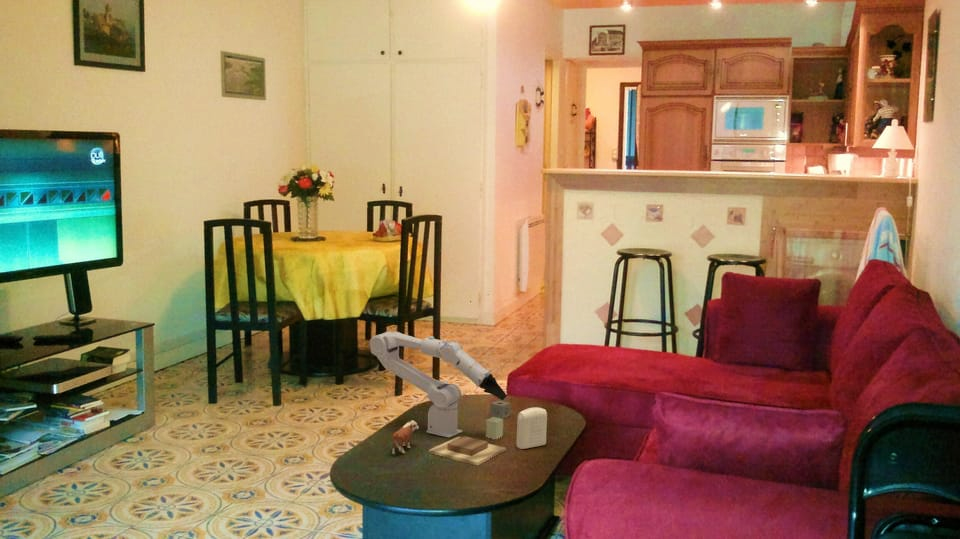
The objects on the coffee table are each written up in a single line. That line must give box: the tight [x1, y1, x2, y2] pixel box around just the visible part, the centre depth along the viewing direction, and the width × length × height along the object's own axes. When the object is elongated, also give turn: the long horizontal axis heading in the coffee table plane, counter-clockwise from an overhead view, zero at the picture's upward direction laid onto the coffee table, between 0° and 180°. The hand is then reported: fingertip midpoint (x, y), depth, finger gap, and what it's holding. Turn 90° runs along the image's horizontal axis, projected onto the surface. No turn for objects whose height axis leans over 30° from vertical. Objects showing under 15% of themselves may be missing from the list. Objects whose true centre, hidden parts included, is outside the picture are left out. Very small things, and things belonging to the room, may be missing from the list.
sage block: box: [485, 417, 504, 440], centre depth 283 cm, size 4×4×6 cm
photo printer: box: [515, 407, 548, 450], centre depth 275 cm, size 10×4×12 cm, turn 123°
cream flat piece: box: [428, 435, 507, 466], centre depth 269 cm, size 18×16×3 cm
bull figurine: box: [391, 419, 420, 455], centre depth 269 cm, size 4×13×8 cm, turn 155°
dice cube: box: [489, 399, 511, 420], centre depth 305 cm, size 5×5×5 cm
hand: (503, 396), depth 276 cm, fingers open, 7 cm apart
